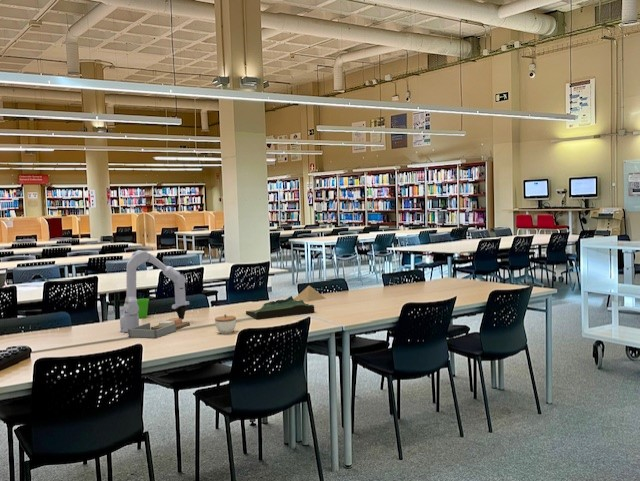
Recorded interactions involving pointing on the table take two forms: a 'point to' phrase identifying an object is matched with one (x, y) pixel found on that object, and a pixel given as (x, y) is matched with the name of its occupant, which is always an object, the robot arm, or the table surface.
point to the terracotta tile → (176, 320)
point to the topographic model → (281, 309)
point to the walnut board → (175, 326)
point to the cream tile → (166, 323)
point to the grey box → (150, 331)
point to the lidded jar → (225, 324)
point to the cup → (142, 307)
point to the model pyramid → (309, 295)
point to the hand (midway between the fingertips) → (181, 319)
